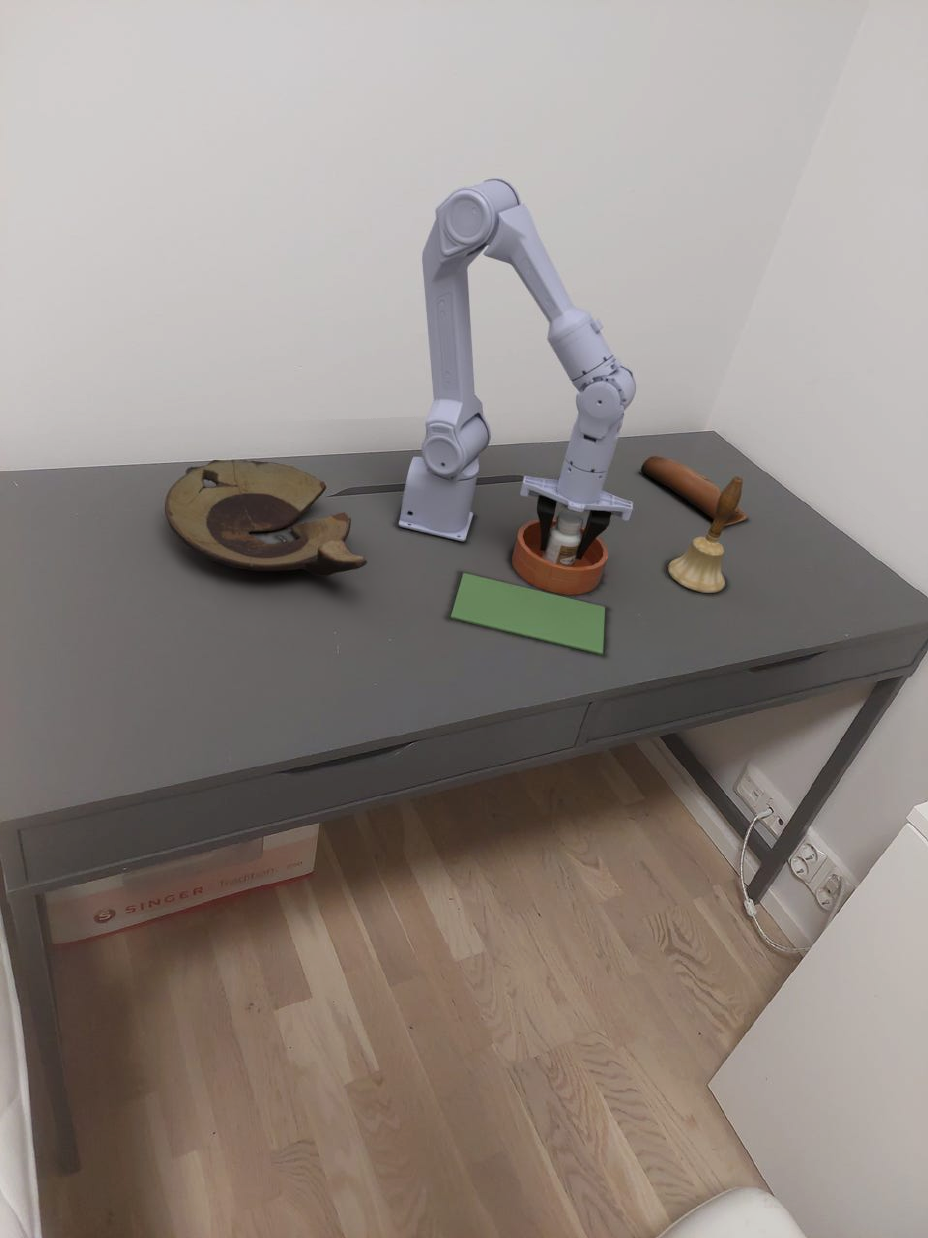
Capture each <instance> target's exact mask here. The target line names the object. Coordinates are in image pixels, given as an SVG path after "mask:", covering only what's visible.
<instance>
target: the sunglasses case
mask: <svg viewBox="0 0 928 1238" xmlns="http://www.w3.org/2000/svg"><path fill="white" fill-rule="evenodd" d="M640 472H641V473H642V474H644V475H645V476H646V475H647V476H648V477H649V478H651V479H653V480H655V481H656V482H659V483H660V484H662V485H664V486H666V487H668V488H669V489H670V490H671V491H673V492H674V493H676V495H678V496H680V497H681V498H683V499H685V500H686V501H688V502H689V503H690V504H691V505H692V506H694V507H696V509H698V510H700V511H701V512H703V513H704V514H705V515H707V516H708V517H710V518H711V519H712V520H714V519H715V516H716V510H717V504H718V501H719V498H720V495H721V493H722V491H721V490H720V489H719V487H718V486H717V485H716V483H714V482H713V481H711V480H709V478H708V477H706V476H704V475H702V474H701V473H700V472H697V471H696V470H694V469H692V468H690V467H689V466H687V465H685V464H683V463H680V462H678V461H676V460H672V459H670V458H667V457H663V456H658V455H652V456H648V458H646V459H645V460H644V461H643V463H642V465H641V466H640ZM747 519H748V516H747V515H746V513H745V512H744V511H743V509H742V508H741V507H740V506H739V505H737V507H736V509H735V510H734V512H733V513H732V514H731V516H730V517H729V518H728V519H727V521H726V522H725V525H724V527H723V528H725V527H730V526H734V525H736V524H739V523H742V522H744V521H746V520H747Z"/></svg>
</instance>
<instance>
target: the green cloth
mask: <svg viewBox="0 0 928 1238" xmlns="http://www.w3.org/2000/svg"><path fill="white" fill-rule="evenodd" d="M605 617H606V606H604V605H599V604H595V603H591V602H587V601H583V600H578V599H575V598H570V597H567V596H563V595H562V596H561V595H559V594H555V593H551V592H550V593H549V592H545V591H541V590H537V589H533V588H529V587H523V586H521V585H516V584H512V583H508V582H503V581H500V580H495V579H491V578H488V577H483V576H478V575H475V574H470V573H467V572H463V573H462V577H461V580H460V583H459V586H458V590H457V593H456V597H455V601H454V604H453V607H452V611H451V615H450V619H452V620H456V621H461V622H465V623H468V624H473V625H475V626H476V625H477V626H481V627H485V628H489V629H494V630H498V631H502V632H506V633H509V634H514V635H518V636H522V637H526V638H531V639H534V640H538V641H542V642H546V643H550V644H554V645H555V644H556V645H559V646H564V647H568V648H571V649H576V650H580V651H584V652H588V653H592V654H597V655H600V656H603V655H604V643H605V642H604V641H605V639H604V638H605V620H606V619H605Z"/></svg>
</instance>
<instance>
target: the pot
mask: <svg viewBox="0 0 928 1238" xmlns="http://www.w3.org/2000/svg"><path fill="white" fill-rule="evenodd" d="M556 520H557V518H553V521H552V524H551V527H550V529H551V528H552V527H553V526H555V525H556ZM584 530H585V526H582V527H581V531H580V533H581V535H583V532H584ZM549 532H550V531H549ZM548 536H549V535H548ZM540 546H541V527H540V522H539V518H537V519H532V520H530V521H527V522H525V523H524V524H522V526H520V528H519V529H518V532H517V536H516V540H515V543H514V547H513V552H512V556H511V563H512V567H513V569H514V570H515V572H516V573H517V574H518V576H520V577H521V578H522V579H523V580H525V581H526V582H527V583H529V584H530V585H532V586H534V587H536V588H538V589H541V590H544V591H547V592H548V593H549V592H550V593H552V594H557V595H565V596H566V595H567V596H568V595H569V596H574V595H576V596H577V595H583V594H585V593H586V594H587V593H589V592H591V591H593V590H594V589H596V588H597V587H598V585H599V584H600V582H601V580H602V577H603V574H604V571H605V568H606V565H607V562H608V559H609V549H608V548H607V545H606V542H604V540H602V539H601V537H599V536H598V537H597V538H596V539H595V540H594V541H593V542H592V543H591V544H590V546H589V547H588V549H587V550H586V552H585V553H584V555H583V557H582V559H581V560H579V559H575V562H574V565H573V567H566V566H562V565H558V564H554V563H552V562H549V561H547V560H545V559H542V556H543V553H544V551H542V550H540Z"/></svg>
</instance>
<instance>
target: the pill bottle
mask: <svg viewBox="0 0 928 1238" xmlns="http://www.w3.org/2000/svg"><path fill="white" fill-rule="evenodd" d="M556 519H557V520H556V525H555V526H553V527H552V528H551V529H550V532H549V536H548V541H547V546H546V549H545V551H544V553H543V556H542V559H545V560H547V561H549V562H552V563H554V564H558V565H562V566H566V567H573V565H574V562H575V559H576V556H577V553H578V549H579V546H580V543H581V540H582V535H581V533H580V531H581V527H583V523H584V519H583V517H582V516H581V515H580V514H578V513H576V512H575V511H571V510H564V511H560V512H559V513H558V514H557V516H556Z"/></svg>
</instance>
